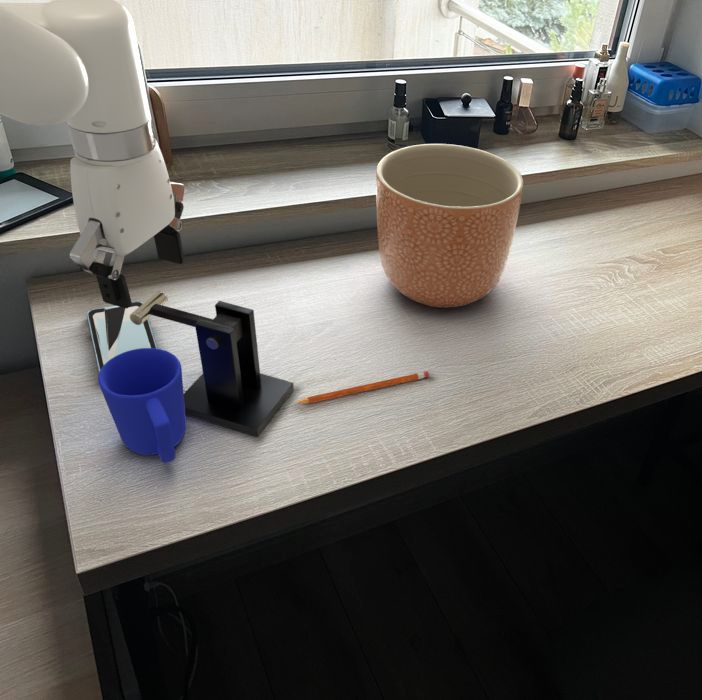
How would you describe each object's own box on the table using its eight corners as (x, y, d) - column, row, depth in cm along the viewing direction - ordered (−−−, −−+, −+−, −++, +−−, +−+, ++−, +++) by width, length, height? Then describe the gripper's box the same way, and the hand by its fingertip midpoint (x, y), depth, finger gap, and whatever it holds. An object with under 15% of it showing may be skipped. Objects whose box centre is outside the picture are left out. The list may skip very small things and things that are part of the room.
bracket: (174, 411, 86) (156, 326, 79) (216, 367, 93) (203, 284, 85) (257, 436, 85) (248, 352, 77) (293, 389, 92) (288, 307, 84)
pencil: (429, 377, 96) (429, 373, 95) (295, 407, 89) (294, 403, 88) (426, 374, 96) (427, 370, 96) (293, 403, 89) (293, 399, 89)
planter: (364, 254, 118) (366, 143, 107) (485, 248, 124) (500, 142, 112) (385, 330, 103) (390, 210, 91) (523, 320, 108) (544, 206, 97)
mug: (136, 498, 76) (117, 431, 70) (109, 426, 84) (89, 360, 77) (214, 470, 80) (202, 404, 74) (181, 404, 88) (168, 339, 81)
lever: (131, 326, 83) (127, 309, 81) (158, 303, 87) (154, 286, 85) (226, 353, 81) (224, 336, 79) (249, 328, 85) (247, 312, 83)
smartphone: (99, 380, 88) (85, 310, 98) (101, 385, 89) (86, 315, 99) (163, 365, 91) (143, 299, 101) (164, 371, 92) (144, 305, 102)
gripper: (136, 101, 78) (163, 238, 89) (14, 162, 65) (63, 315, 76) (197, 114, 77) (217, 252, 88) (85, 180, 64) (125, 332, 75)
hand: (146, 281), depth 82 cm, fingers open, 9 cm apart
